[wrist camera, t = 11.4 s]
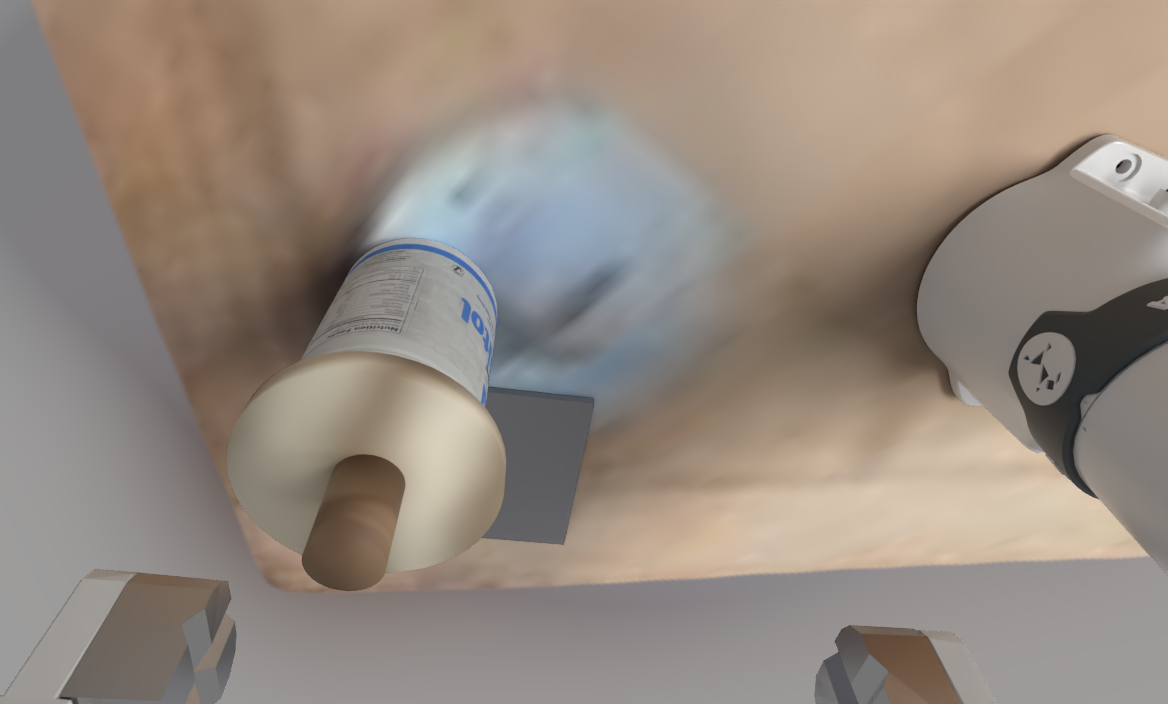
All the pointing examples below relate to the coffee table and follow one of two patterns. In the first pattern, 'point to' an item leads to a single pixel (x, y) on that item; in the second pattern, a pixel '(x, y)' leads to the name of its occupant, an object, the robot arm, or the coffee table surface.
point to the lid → (367, 465)
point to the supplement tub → (416, 311)
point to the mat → (538, 461)
